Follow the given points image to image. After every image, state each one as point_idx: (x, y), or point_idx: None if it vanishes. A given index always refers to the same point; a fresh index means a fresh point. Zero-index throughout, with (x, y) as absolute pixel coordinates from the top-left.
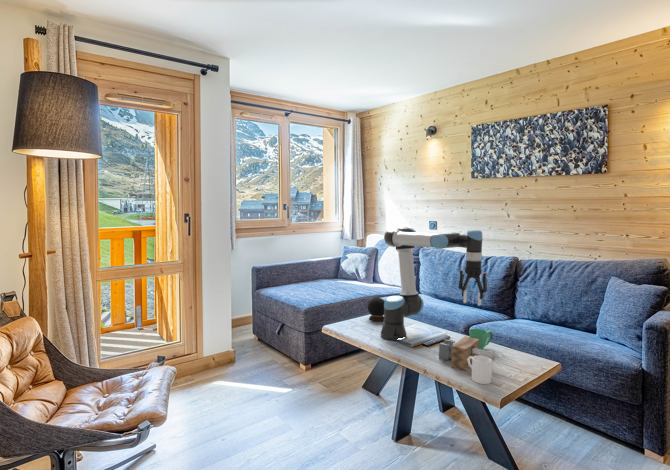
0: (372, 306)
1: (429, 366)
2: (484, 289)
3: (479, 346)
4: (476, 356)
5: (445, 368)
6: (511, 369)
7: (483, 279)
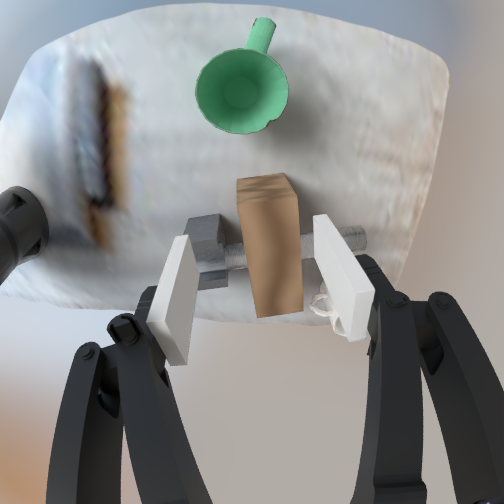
0: None
1: (215, 308)
2: (432, 362)
3: (258, 111)
4: (338, 316)
5: (248, 293)
6: (382, 177)
7: (464, 475)
